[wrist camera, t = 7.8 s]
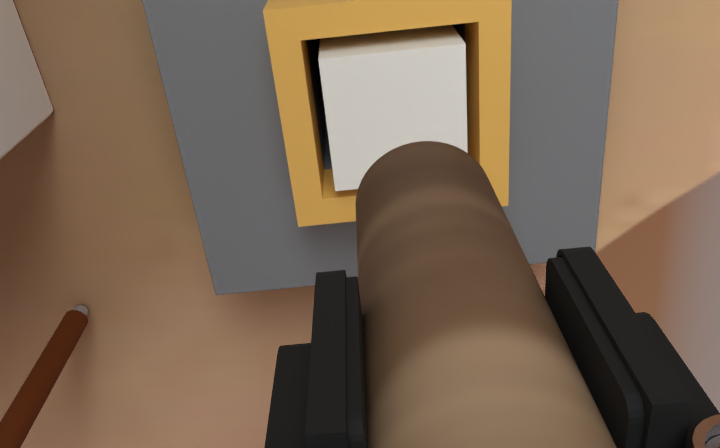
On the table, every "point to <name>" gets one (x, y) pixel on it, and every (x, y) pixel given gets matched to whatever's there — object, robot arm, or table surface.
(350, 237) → the box
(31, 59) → the gable box
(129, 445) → the table surface
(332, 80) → the button
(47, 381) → the magnifying glass
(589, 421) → the brown cylinder
